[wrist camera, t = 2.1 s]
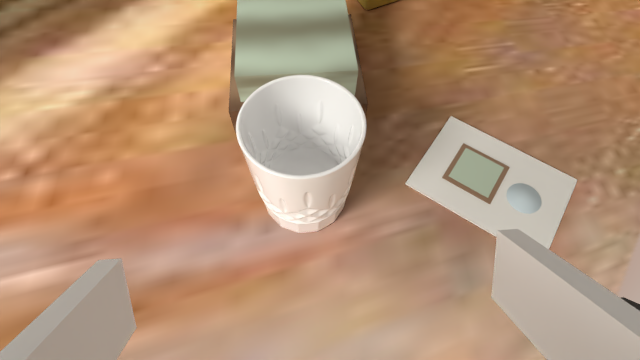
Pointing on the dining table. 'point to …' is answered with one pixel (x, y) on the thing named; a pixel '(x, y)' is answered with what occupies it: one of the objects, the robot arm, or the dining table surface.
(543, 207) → the page
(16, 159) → the dining table surface
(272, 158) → the white cup
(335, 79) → the tower base
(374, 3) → the flower pot
